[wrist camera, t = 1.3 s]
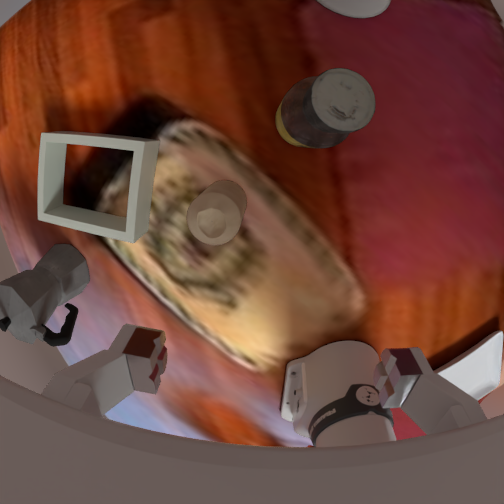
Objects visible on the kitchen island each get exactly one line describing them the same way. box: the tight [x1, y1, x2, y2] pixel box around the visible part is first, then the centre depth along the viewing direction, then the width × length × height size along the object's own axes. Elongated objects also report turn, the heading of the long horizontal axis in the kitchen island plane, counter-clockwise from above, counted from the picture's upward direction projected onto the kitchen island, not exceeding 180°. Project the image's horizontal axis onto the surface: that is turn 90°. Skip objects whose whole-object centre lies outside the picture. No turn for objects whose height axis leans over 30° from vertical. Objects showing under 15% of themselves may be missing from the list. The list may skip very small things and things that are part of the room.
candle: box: [187, 180, 247, 245], centre depth 33 cm, size 6×6×10 cm
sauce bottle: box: [276, 68, 375, 148], centre depth 24 cm, size 7×6×20 cm
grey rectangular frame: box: [38, 131, 160, 243], centre depth 35 cm, size 12×16×5 cm
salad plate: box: [433, 331, 503, 401], centre depth 47 cm, size 21×21×3 cm
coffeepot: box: [0, 244, 90, 346], centre depth 35 cm, size 15×9×18 cm, turn 66°
